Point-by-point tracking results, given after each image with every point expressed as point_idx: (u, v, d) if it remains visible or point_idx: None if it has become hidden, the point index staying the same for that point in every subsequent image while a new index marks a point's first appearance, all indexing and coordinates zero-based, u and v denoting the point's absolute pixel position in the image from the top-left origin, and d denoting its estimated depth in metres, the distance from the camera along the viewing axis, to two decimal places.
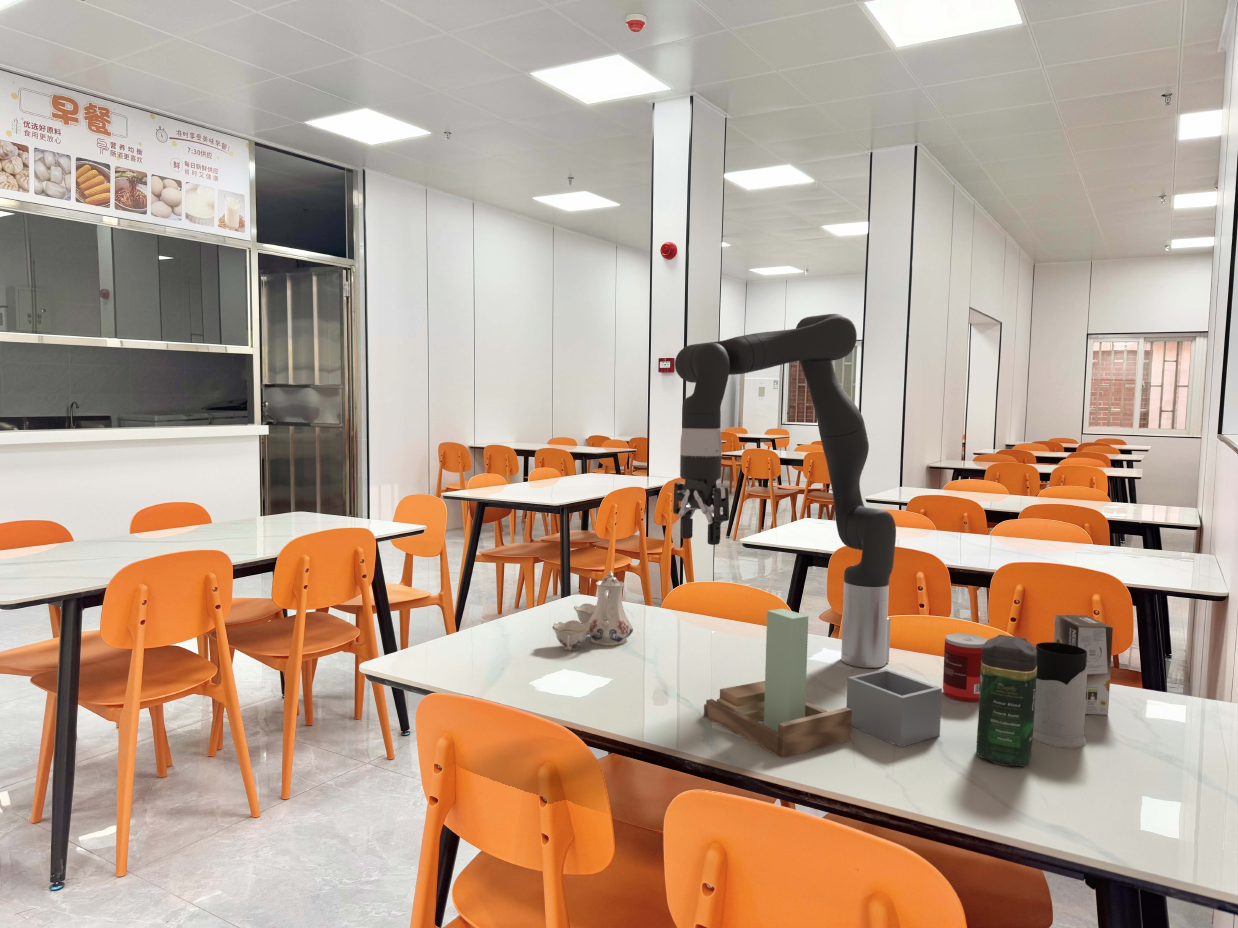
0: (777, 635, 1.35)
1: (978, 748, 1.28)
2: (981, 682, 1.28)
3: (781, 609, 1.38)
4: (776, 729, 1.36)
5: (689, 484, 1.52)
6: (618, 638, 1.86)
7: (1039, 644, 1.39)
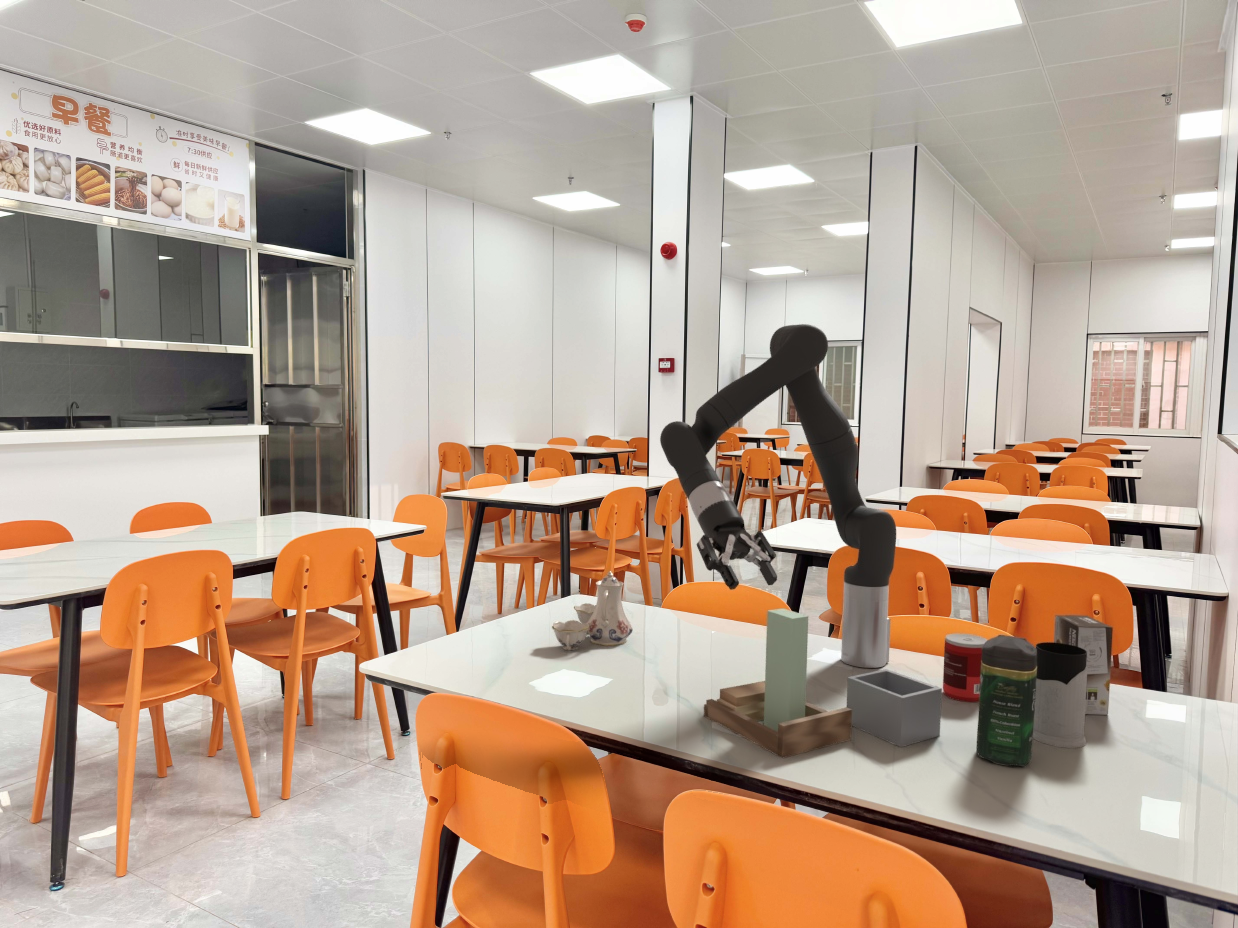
0: (777, 635, 1.35)
1: (978, 748, 1.28)
2: (981, 682, 1.28)
3: (781, 609, 1.38)
4: (776, 729, 1.36)
5: None
6: (618, 638, 1.86)
7: (1039, 644, 1.39)
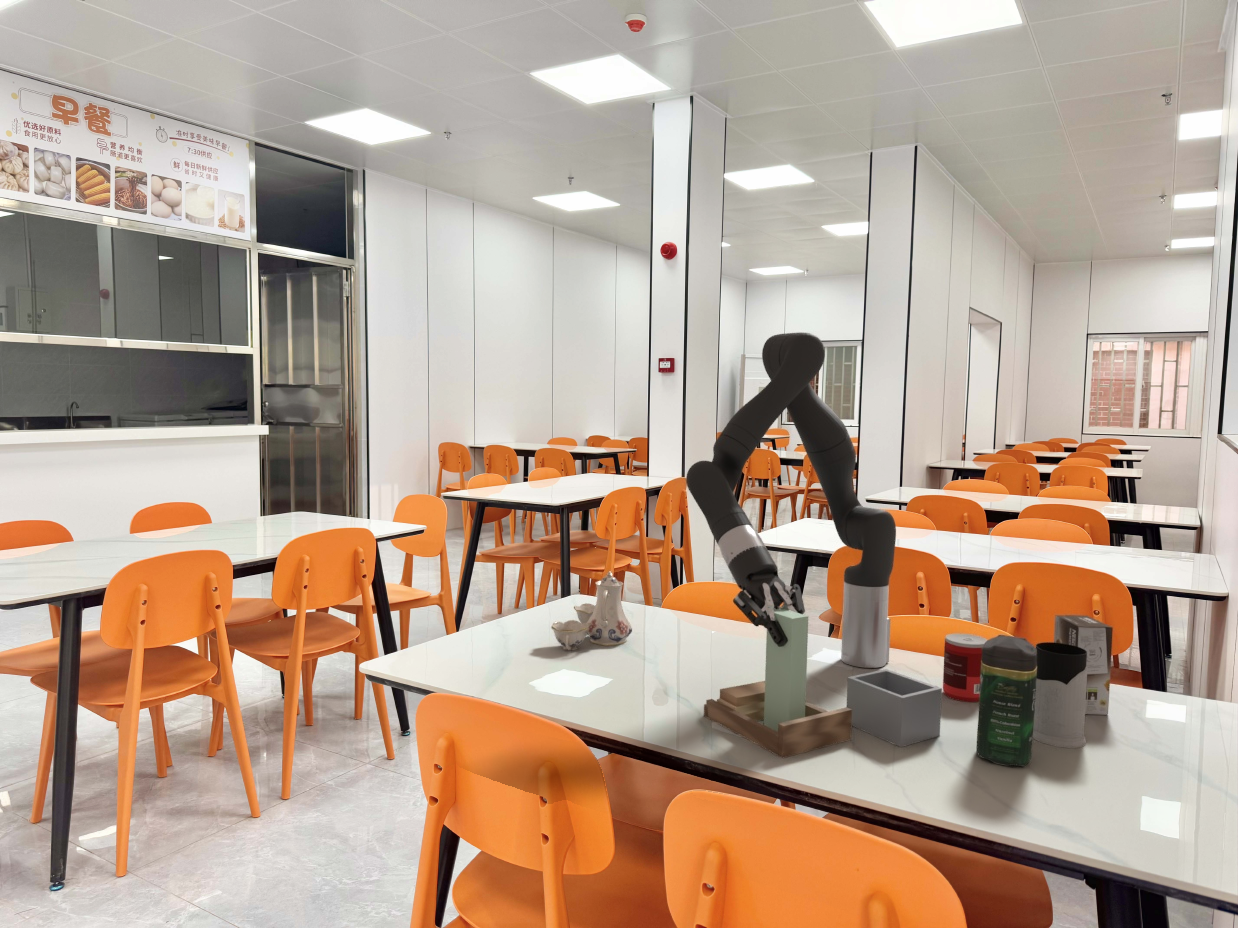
0: None
1: (978, 748, 1.28)
2: (981, 682, 1.28)
3: (781, 609, 1.38)
4: (776, 729, 1.36)
5: None
6: (617, 638, 1.86)
7: (1039, 644, 1.39)
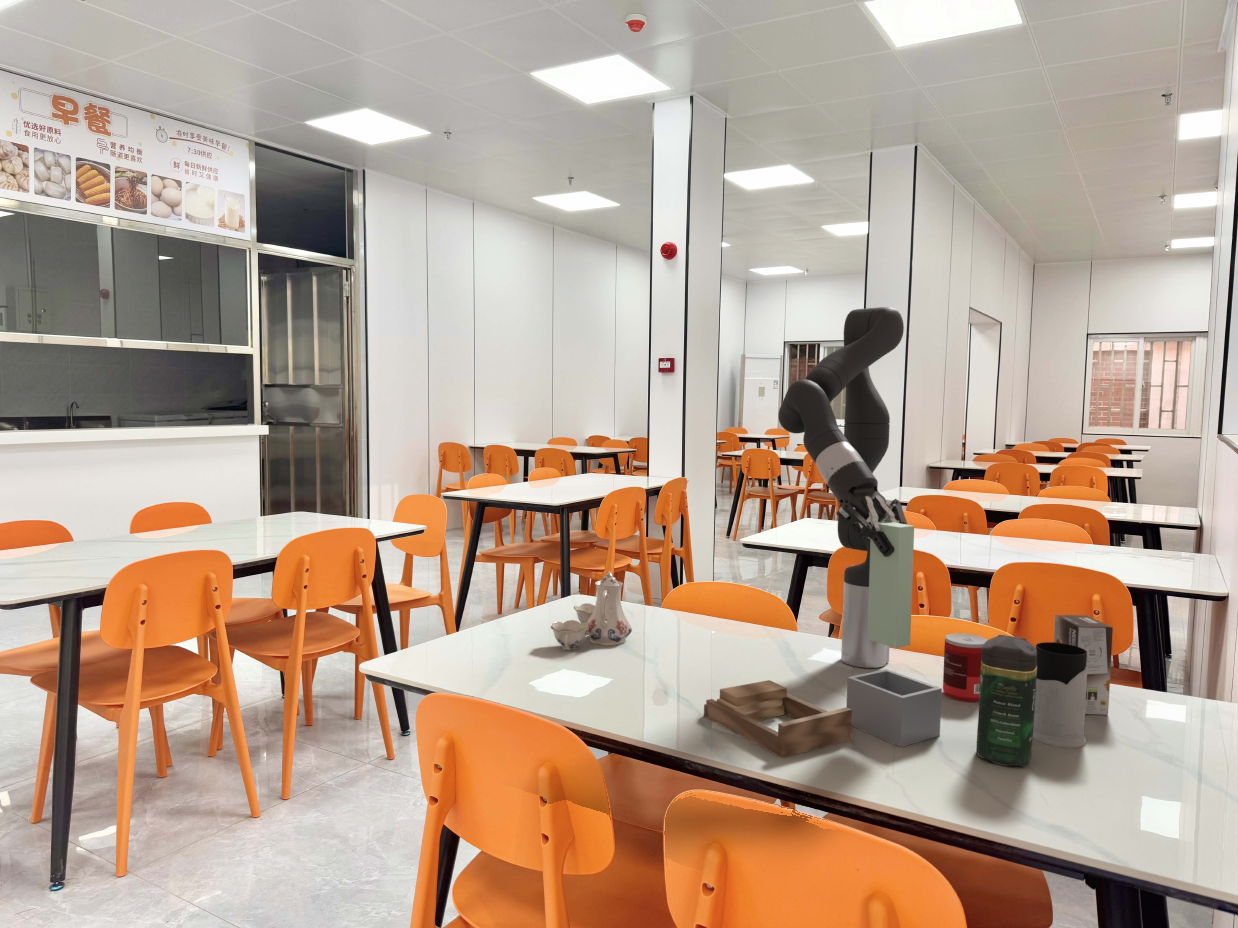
0: None
1: (978, 748, 1.28)
2: (981, 682, 1.28)
3: (884, 521, 1.39)
4: (882, 639, 1.37)
5: None
6: (617, 638, 1.86)
7: (1039, 644, 1.39)
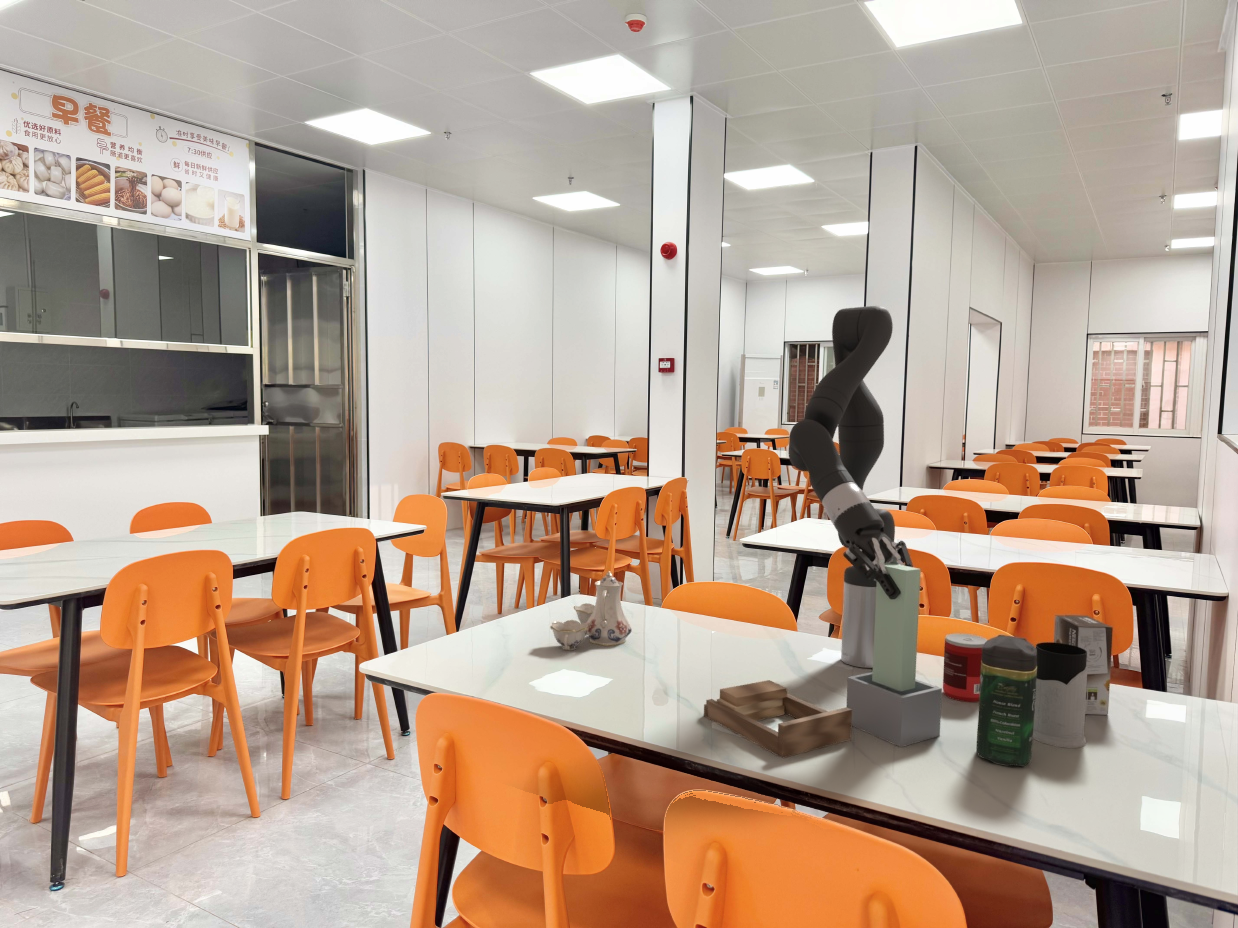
0: None
1: (978, 748, 1.28)
2: (981, 682, 1.28)
3: (890, 563, 1.40)
4: (886, 681, 1.37)
5: None
6: (616, 638, 1.86)
7: (1039, 644, 1.39)
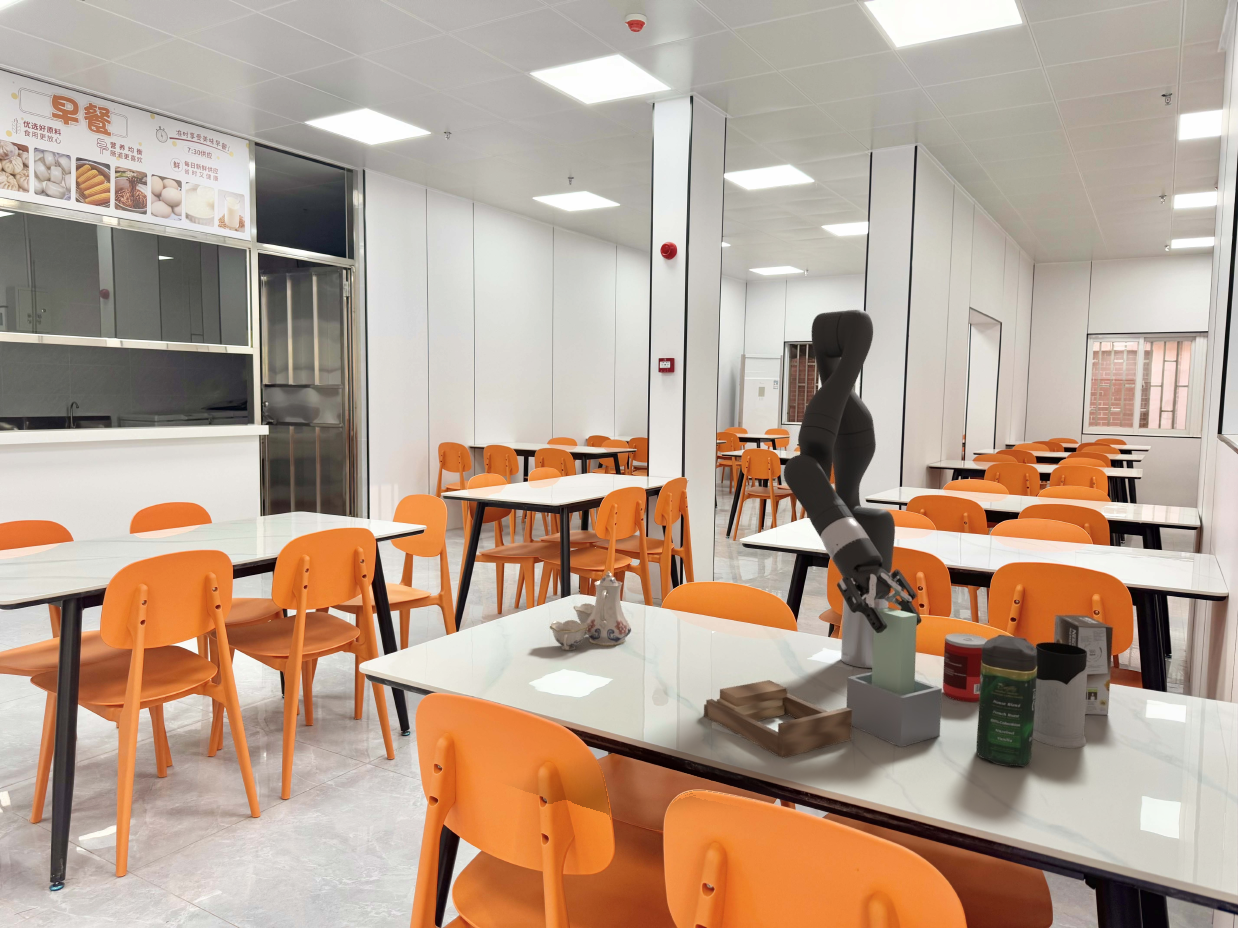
0: (885, 633, 1.38)
1: (978, 748, 1.28)
2: (981, 682, 1.28)
3: (887, 608, 1.41)
4: None
5: None
6: (616, 638, 1.86)
7: (1039, 644, 1.39)
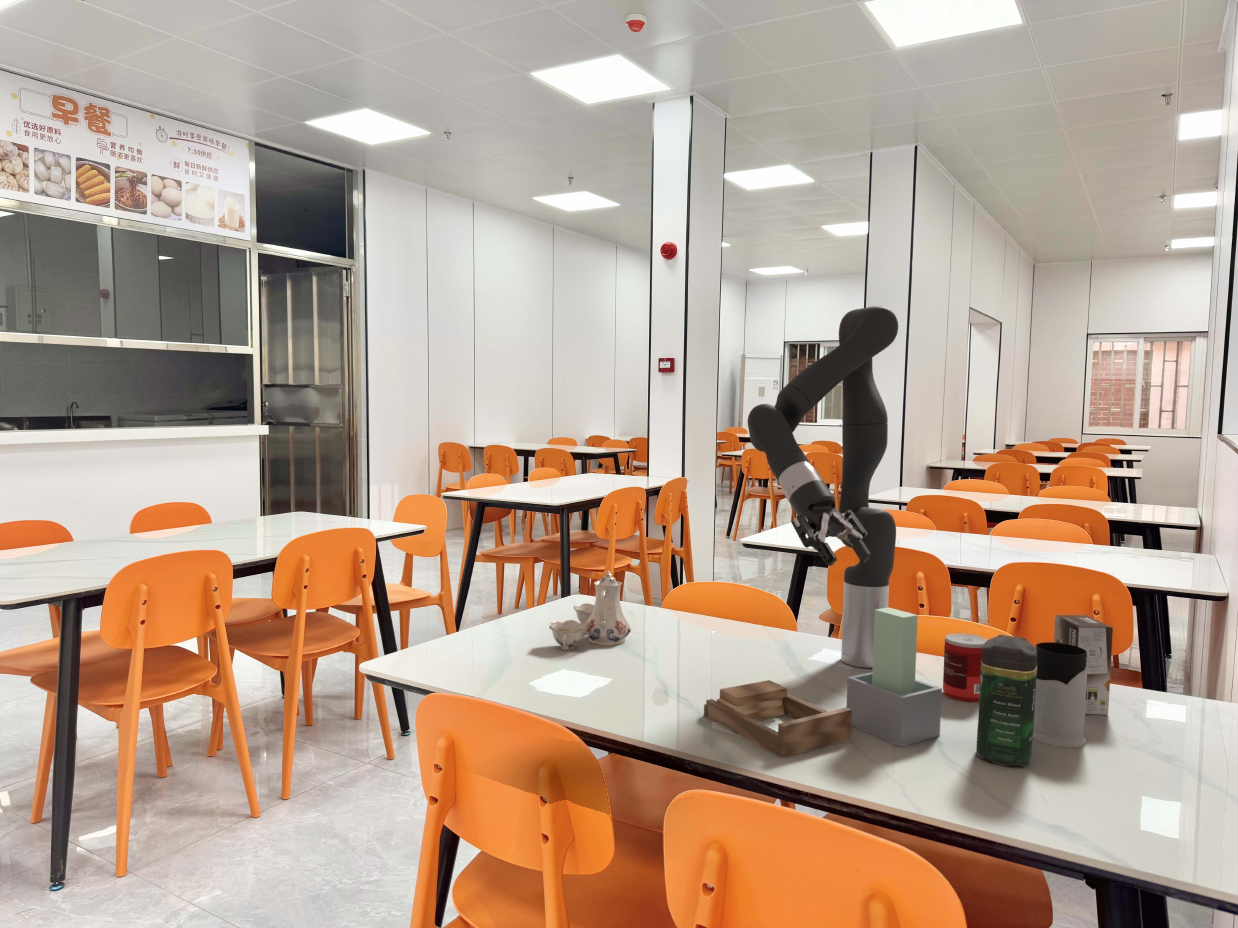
0: (886, 634, 1.37)
1: (978, 748, 1.28)
2: (981, 682, 1.28)
3: (888, 608, 1.40)
4: None
5: None
6: (615, 638, 1.86)
7: (1039, 644, 1.39)
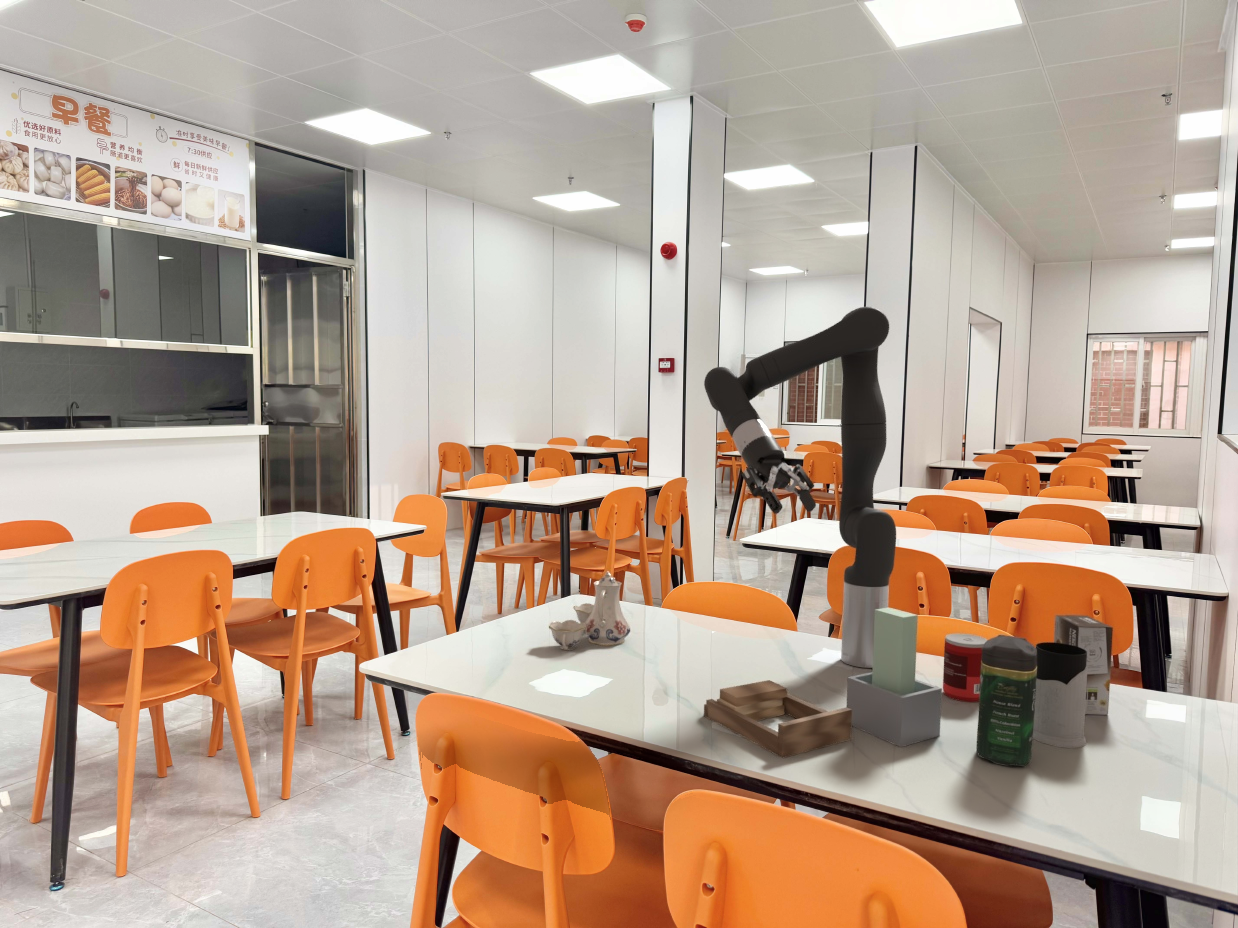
0: (886, 634, 1.37)
1: (978, 748, 1.28)
2: (981, 682, 1.28)
3: (888, 608, 1.40)
4: None
5: None
6: (615, 638, 1.85)
7: (1039, 644, 1.39)
